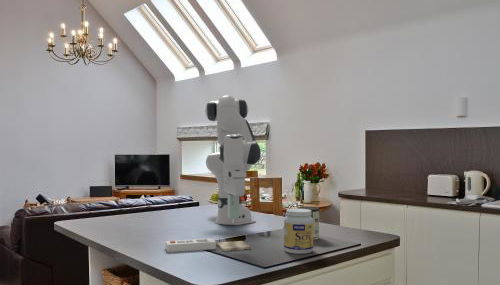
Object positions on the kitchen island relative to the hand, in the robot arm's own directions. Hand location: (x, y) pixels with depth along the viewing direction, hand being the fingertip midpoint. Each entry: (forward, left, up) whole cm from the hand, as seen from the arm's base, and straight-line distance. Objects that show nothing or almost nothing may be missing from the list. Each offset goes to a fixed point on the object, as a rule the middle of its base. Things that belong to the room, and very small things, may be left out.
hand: (233, 204), depth 196 cm
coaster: (0, 0, -18) cm, 18 cm away
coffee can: (-40, +2, -18) cm, 44 cm away
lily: (-46, -18, -18) cm, 53 cm away
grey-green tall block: (0, 0, -6) cm, 6 cm away
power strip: (+17, -7, -18) cm, 26 cm away
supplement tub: (-19, +20, -18) cm, 33 cm away
